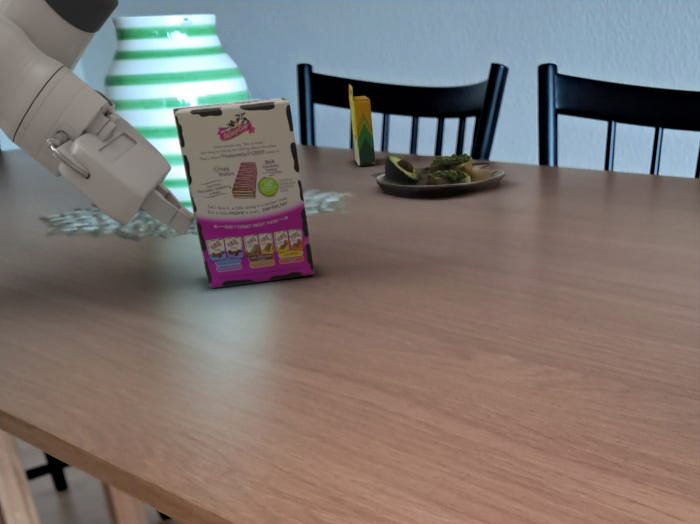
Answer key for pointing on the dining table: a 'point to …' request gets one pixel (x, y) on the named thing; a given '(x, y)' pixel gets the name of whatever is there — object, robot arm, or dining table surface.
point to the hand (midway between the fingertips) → (190, 227)
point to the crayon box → (362, 129)
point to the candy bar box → (245, 190)
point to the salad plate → (436, 177)
